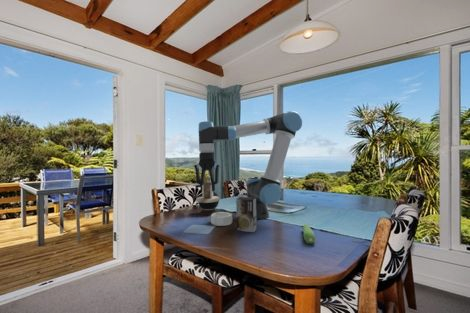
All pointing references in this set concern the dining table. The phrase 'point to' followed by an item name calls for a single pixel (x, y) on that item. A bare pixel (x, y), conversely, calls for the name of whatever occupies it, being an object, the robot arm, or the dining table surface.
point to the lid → (207, 195)
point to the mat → (199, 229)
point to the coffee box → (246, 214)
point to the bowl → (221, 218)
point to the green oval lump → (308, 234)
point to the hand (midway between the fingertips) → (207, 197)
